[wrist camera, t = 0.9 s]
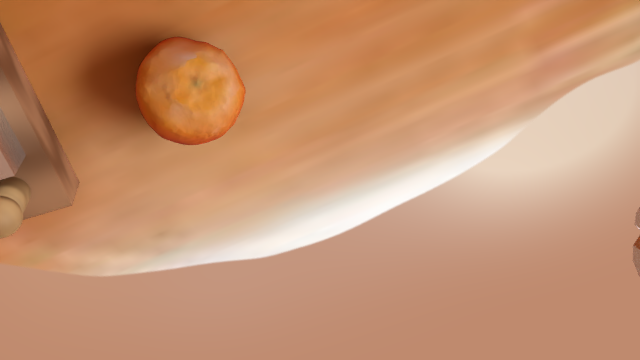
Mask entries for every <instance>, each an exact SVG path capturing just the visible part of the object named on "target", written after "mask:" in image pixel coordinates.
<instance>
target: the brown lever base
mask: <svg viewBox="0 0 640 360" xmlns="http://www.w3.org/2000/svg"><path fill="white" fill-rule="evenodd" d="M0 107H1V109H2V111H3V113H4V115H5V117H6V119H7V121H8V122H9V124H10V126H11V128H12V130H13V132H14V134H15V135H16V137H17V139H18V141H19V143H20V145H21V147H22V148H23V150H24V152H25V154H26V156H25V158H24V160H23V161H22V163H21V165H20V167H19V169H18V171H17V172H16V174H15V176H12V177H9V178H5V179H2V180H0V238H5V237H8V236H10V235H12V234H14V233H15V232H16V231H17V230H18V229H19V228H20V226H21V224H22V221H23V220H24V219H28V218H31V217H35V216H38V215H41V214H45V213H48V212H51V211H55V210H58V209H62V208H65V207H68V206H72V204H73V201H74V198H75V195H76V191H77V188H78V185H79V181H78V179H77V177H76V175H75V173H74V171H73V169H72V167H71V165H70V163H69V161H68V159H67V157H66V155H65V153H64V151H63V149H62V147H61V145H60V143H59V141H58V138H57V136H56V134H55V132H54V130H53V128H52V126H51V124H50V122H49V120H48V118H47V116H46V114H45V112H44V110H43V108H42V106H41V104H40V102H39V100H38V98H37V96H36V94H35V92H34V90H33V88H32V86H31V84H30V82H29V80H28V78H27V76H26V74H25V72H24V70H23V68H22V66H21V64H20V62H19V60H18V58H17V56H16V54H15V52H14V50H13V48H12V46H11V44H10V42H9V40H8V38H7V36H6V34H5V32H4V30H3V28H2V26H1V24H0Z"/></svg>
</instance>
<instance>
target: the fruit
mask: <svg viewBox="0 0 640 360" xmlns="http://www.w3.org/2000/svg"><path fill="white" fill-rule="evenodd" d="M135 92H136V98H137V102H138V105H139V108H140V111H141V113H142V115H143V117H144V119H145V120H146V122H147V123H148V125H149V126H150V127H151V128H152V129H153V130H154V131H155V132H156V133H157V134H158V135H160V136H161V137H162V138H164V139H167V140H170V141H173V142H176V143H180V144H185V145H198V144H202V143H207V142H210V141H212V140H215V139H218V138H220V137H221V136H223V135H224V134H225V133H226V132H227V131H228V130H229V129H230V128H231V127H232V126H233V125H234V123H235V121H236V118H237V117H238V115H239V113H240V110H241V108H242V105H243V102H244V95H245V87H244V85H243V82H242V80H241V78H240V76H239V74H238V72H237V69H236V68H235V66H234V65H233V63H232V62H231V60H230V59H229V58H228V56H227V55H226V54H225V52H224V51H223V50H221V49H218V48H216V47H214V46H213V45H211V44H209V43H206V42H200V41H194V40H191V39H187V38H183V37H173V38H168V39H165V40H163V41H161V42H160V43H159V44H157V45H156V46H155V47H154V48H153V49H152V50H151V51H150V53H149V54H148V55H147V56H146V57H145V58H144V60H143V61H142V63H141V64H140V66H139V69H138V73H137V80H136V88H135Z"/></svg>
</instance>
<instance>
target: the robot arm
mask: <svg viewBox="0 0 640 360" xmlns="http://www.w3.org/2000/svg"><path fill="white" fill-rule="evenodd" d="M635 225H636V227H637V228H638V229H639V230H640V208H639V209H638V211H637V213H636V220H635ZM633 262H634V264H635V267H636V269H637V272H638V274H639V276H640V236H639V238H638V239H637V241H636V242H635V244H634V245H633Z"/></svg>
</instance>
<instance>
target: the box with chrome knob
mask: <svg viewBox="0 0 640 360" xmlns="http://www.w3.org/2000/svg"><path fill="white" fill-rule="evenodd" d="M25 156H26V154H25V152H24V150H23V148H22V147H21V145H20V143H19V141H18V139H17V137H16V135H15V134H14V132H13V130H12V128H11V126H10V124H9V122H8V121H7V119H6V117H5V115H4V113H3V111H2V109H1V107H0V180H2V179H5V178H9V177H12V176H15V174H16V172H17V171H18V169H19V167H20V165H21V163H22V161H23V160H24V158H25Z"/></svg>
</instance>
